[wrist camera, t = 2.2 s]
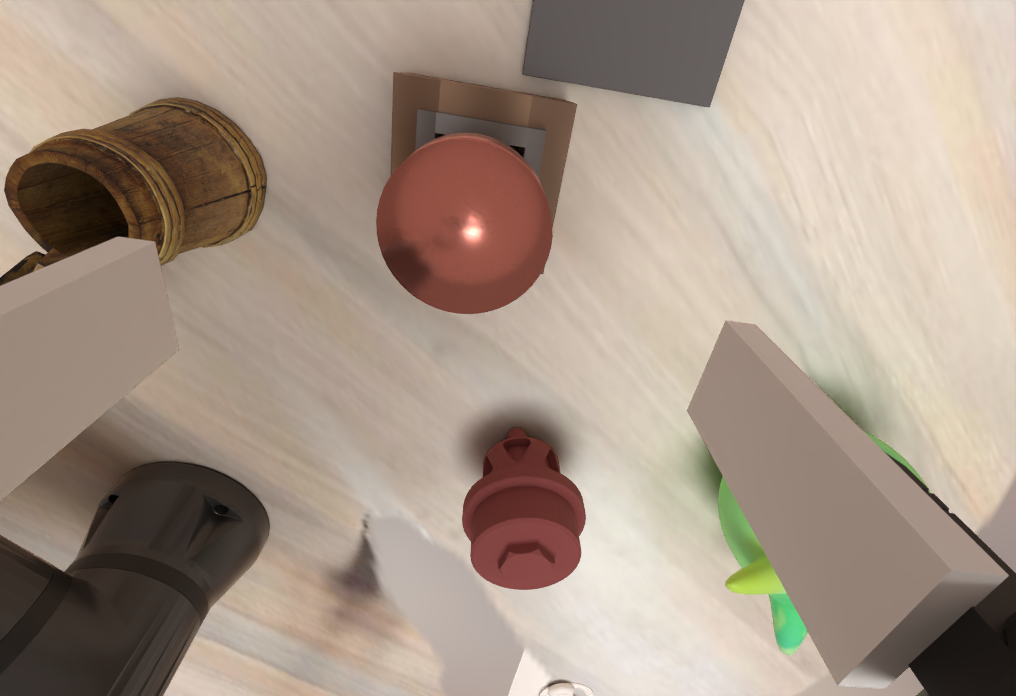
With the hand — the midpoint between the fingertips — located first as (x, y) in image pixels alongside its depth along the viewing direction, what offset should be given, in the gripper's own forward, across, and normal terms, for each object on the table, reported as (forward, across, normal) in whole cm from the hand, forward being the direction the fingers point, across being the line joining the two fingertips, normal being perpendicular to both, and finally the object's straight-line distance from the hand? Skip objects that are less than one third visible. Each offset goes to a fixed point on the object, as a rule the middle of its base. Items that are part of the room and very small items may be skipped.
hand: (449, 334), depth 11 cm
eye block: (+24, 0, 0) cm, 24 cm away
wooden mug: (+24, -20, -5) cm, 32 cm away
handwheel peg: (+24, 0, 0) cm, 24 cm away
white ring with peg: (+25, +23, -68) cm, 76 cm away
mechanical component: (+24, +7, -25) cm, 36 cm away
